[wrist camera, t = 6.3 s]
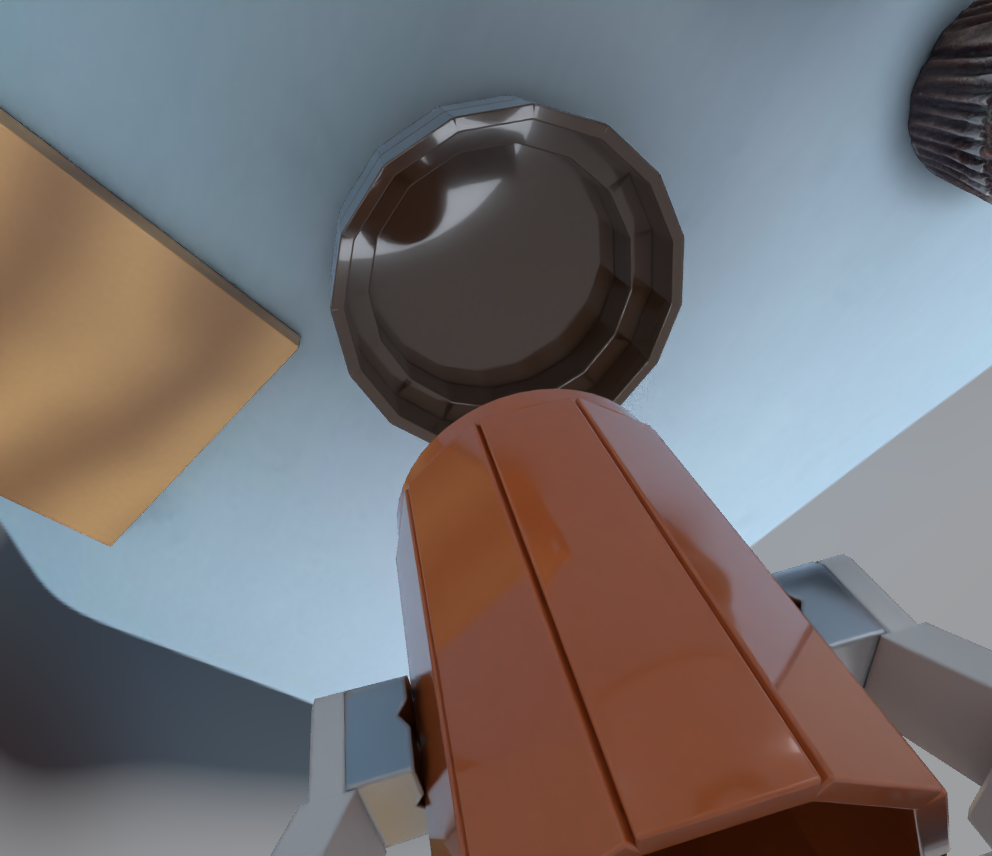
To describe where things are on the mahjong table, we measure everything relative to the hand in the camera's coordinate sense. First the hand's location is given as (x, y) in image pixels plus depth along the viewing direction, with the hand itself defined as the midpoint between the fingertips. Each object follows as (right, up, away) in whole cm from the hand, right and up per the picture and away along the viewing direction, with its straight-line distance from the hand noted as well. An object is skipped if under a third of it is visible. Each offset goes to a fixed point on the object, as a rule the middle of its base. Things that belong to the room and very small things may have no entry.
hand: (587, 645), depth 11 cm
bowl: (-2, +11, +18) cm, 21 cm away
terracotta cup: (-1, +2, +3) cm, 4 cm away
